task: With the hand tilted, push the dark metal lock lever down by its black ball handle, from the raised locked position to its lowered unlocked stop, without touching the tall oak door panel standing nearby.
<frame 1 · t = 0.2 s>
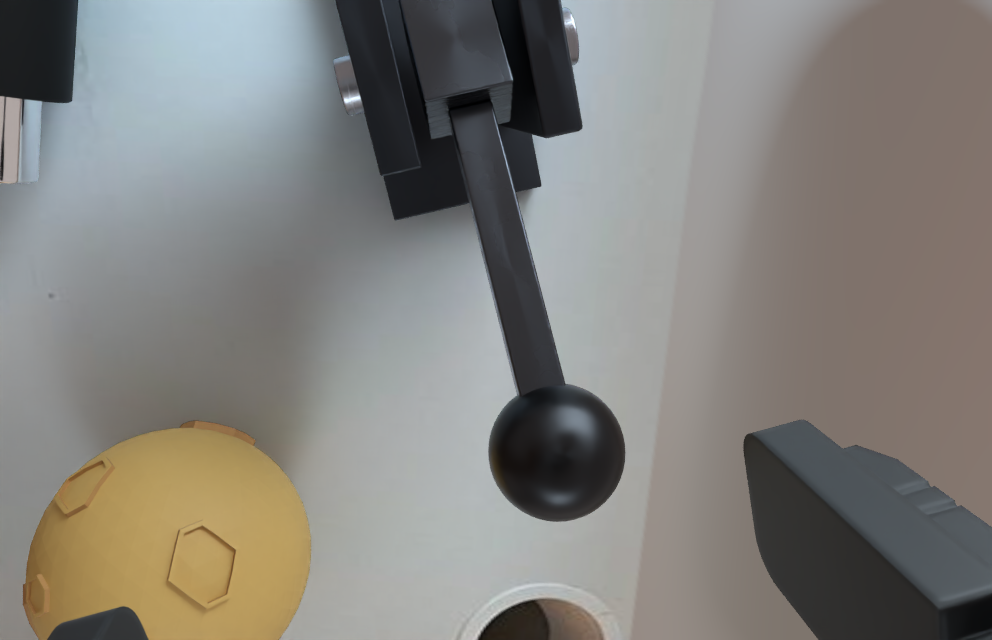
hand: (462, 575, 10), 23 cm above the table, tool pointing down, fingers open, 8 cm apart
lock lever: (506, 253, 18), point 13 cm above the table, hinge at 25.0°
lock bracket: (438, 74, 30), on the table
stress ball: (209, 490, 34), on the table
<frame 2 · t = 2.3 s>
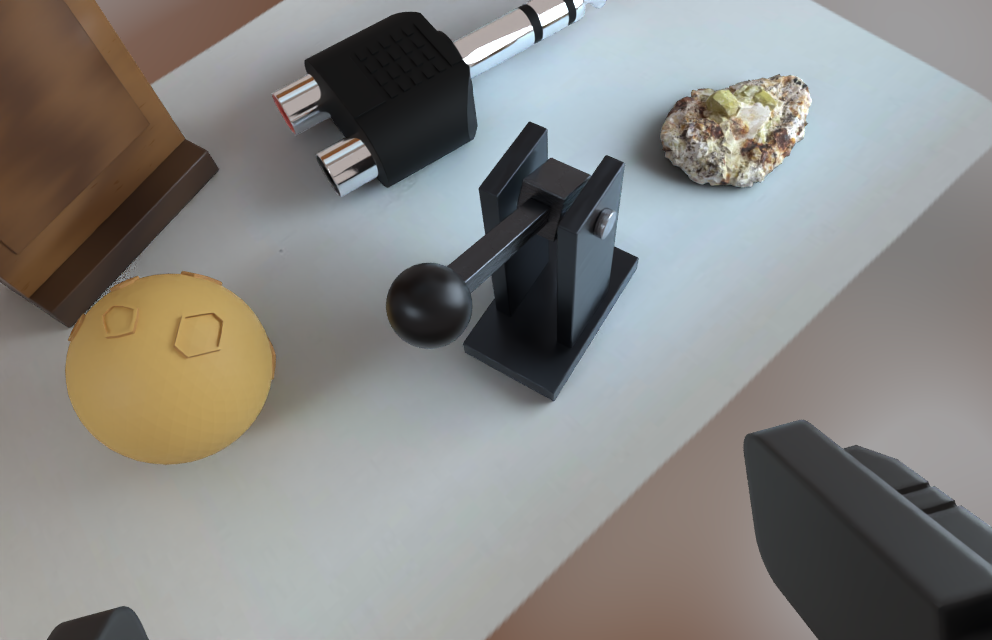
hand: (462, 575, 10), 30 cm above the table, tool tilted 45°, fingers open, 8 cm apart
lock lever: (496, 247, 31), point 13 cm above the table, hinge at 25.0°
audio adapter: (472, 87, 54), on the table
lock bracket: (552, 309, 45), on the table
mineral rock: (734, 140, 50), on the table
stress ball: (213, 402, 44), on the table
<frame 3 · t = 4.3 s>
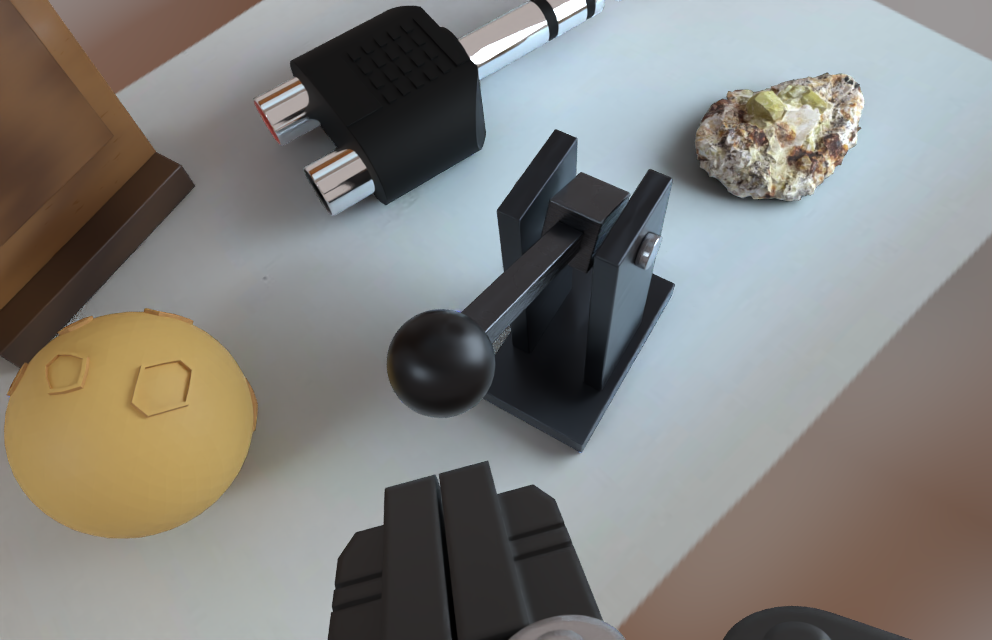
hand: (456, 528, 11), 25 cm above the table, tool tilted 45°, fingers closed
lock lever: (520, 284, 26), point 13 cm above the table, hinge at 25.0°
audio adapter: (478, 90, 48), on the table
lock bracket: (576, 343, 39), on the table
mineral rock: (777, 147, 44), on the table
stress ball: (186, 456, 38), on the table
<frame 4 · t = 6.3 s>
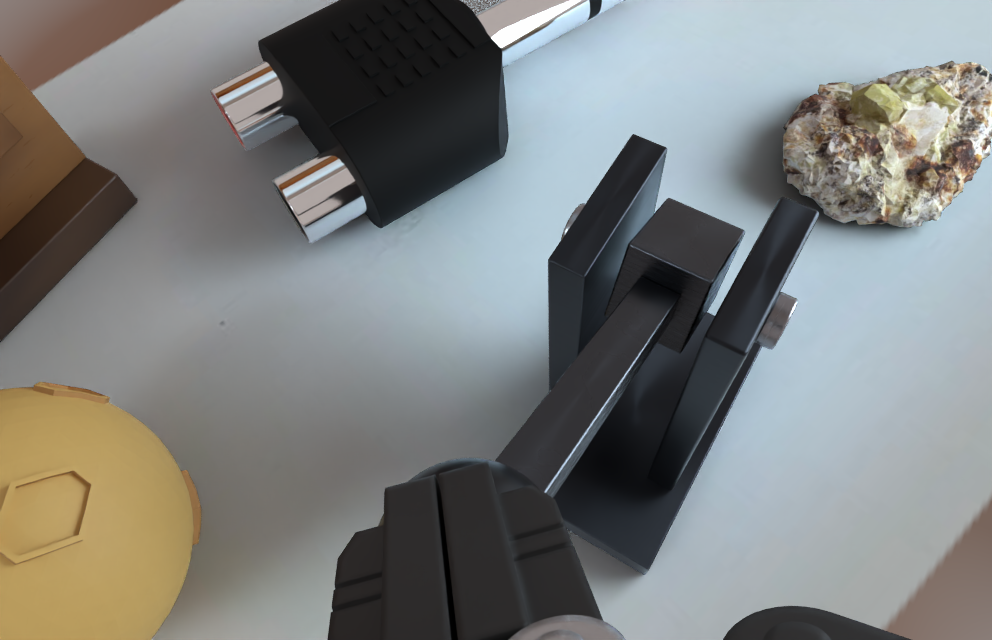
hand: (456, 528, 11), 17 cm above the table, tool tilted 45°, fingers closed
lock lever: (592, 386, 16), point 13 cm above the table, hinge at 24.5°, touching gripper
audio adapter: (498, 82, 38), on the table
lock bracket: (633, 418, 29), on the table
mineral rock: (883, 157, 34), on the table
stress ball: (109, 569, 28), on the table
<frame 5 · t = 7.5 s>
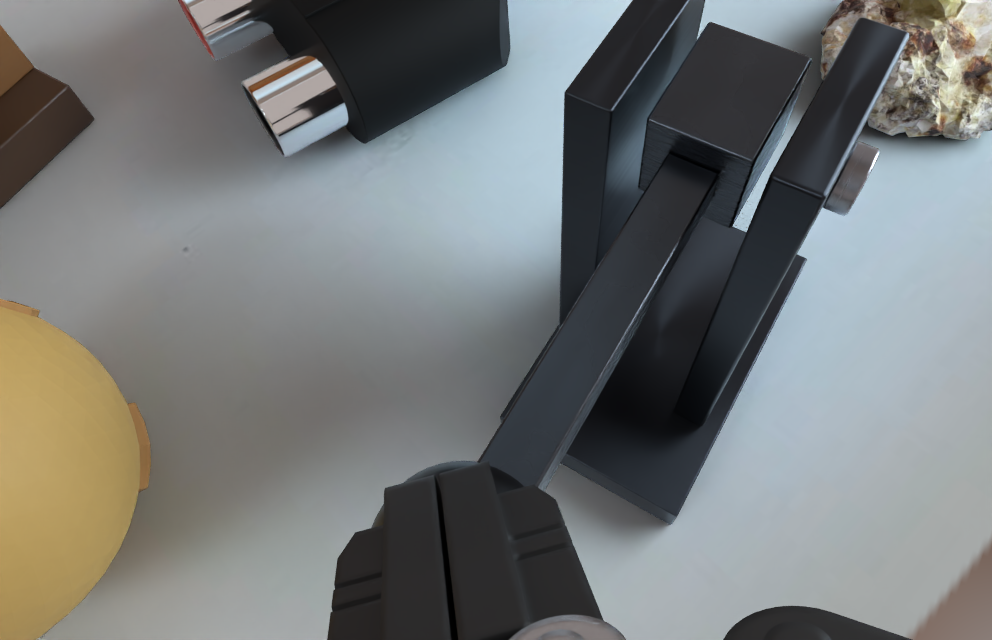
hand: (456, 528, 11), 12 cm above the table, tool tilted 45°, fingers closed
lock lever: (602, 323, 14), point 11 cm above the table, hinge at -3.2°, touching gripper
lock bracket: (654, 350, 25), on the table
mineral rock: (932, 66, 31), on the table
stress ball: (48, 522, 24), on the table
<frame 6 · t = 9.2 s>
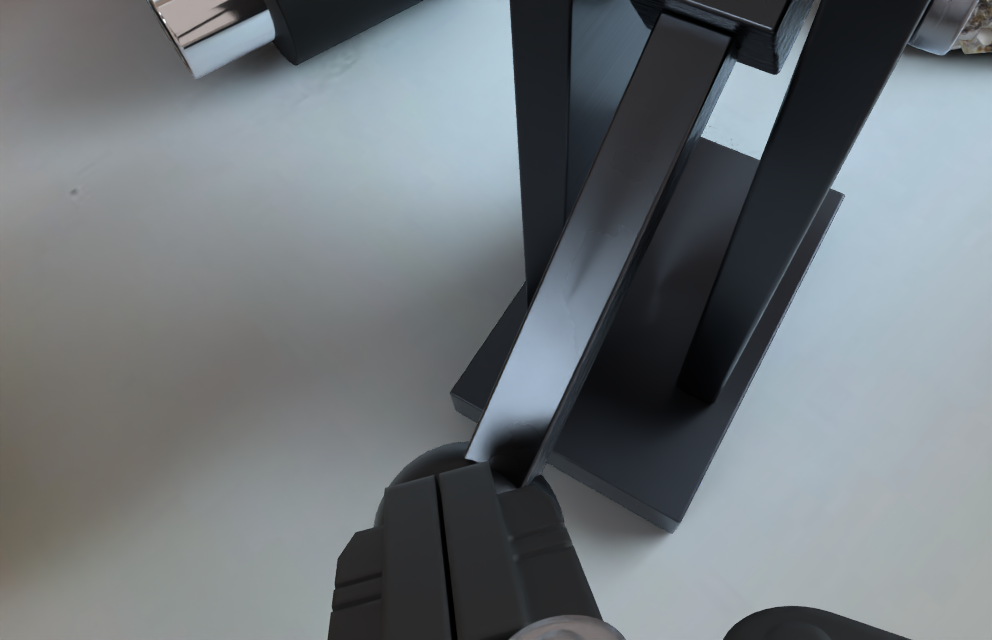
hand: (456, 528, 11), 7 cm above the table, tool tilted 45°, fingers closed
lock lever: (591, 271, 11), point 8 cm above the table, hinge at -36.1°, touching gripper
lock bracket: (651, 310, 20), on the table
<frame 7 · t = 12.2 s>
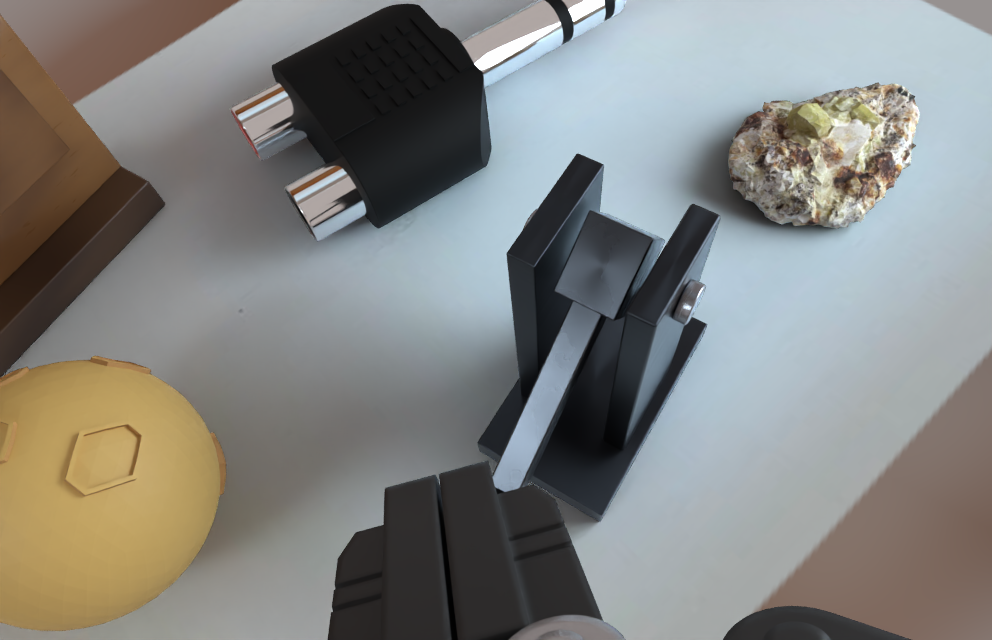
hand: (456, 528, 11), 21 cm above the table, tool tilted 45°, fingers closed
lock lever: (546, 402, 26), point 8 cm above the table, hinge at -35.6°
audio adapter: (483, 99, 43), on the table
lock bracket: (594, 391, 34), on the table
mineral rock: (819, 166, 39), on the table
stress ball: (146, 518, 33), on the table
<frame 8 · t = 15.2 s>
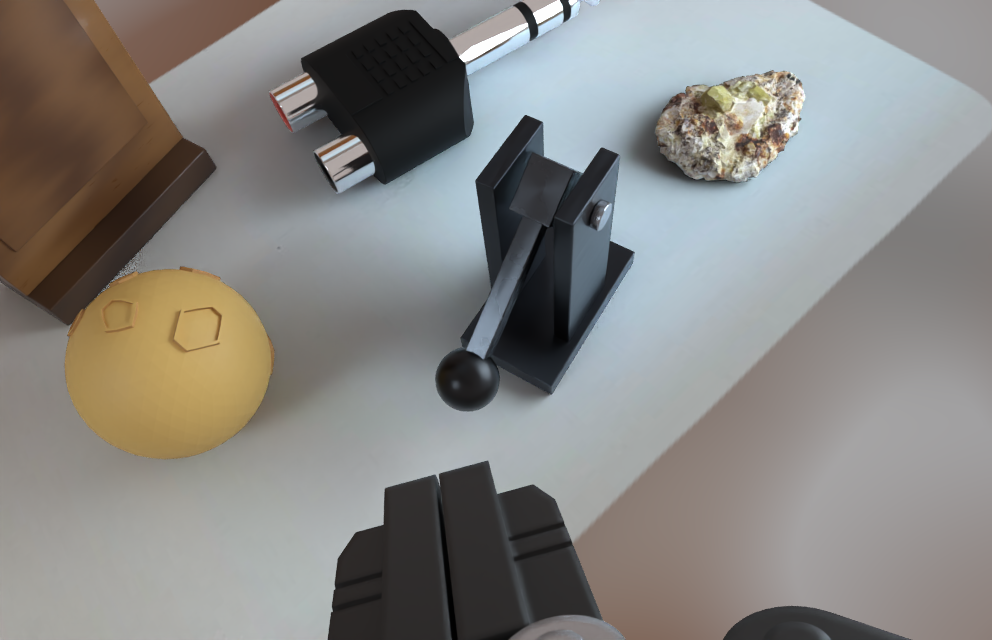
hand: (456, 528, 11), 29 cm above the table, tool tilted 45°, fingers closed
lock lever: (505, 290, 36), point 8 cm above the table, hinge at -35.6°
audio adapter: (468, 85, 54), on the table
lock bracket: (549, 303, 45), on the table
mineral rock: (729, 135, 50), on the table
stress ball: (212, 398, 44), on the table
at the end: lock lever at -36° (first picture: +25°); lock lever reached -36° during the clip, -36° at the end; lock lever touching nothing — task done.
